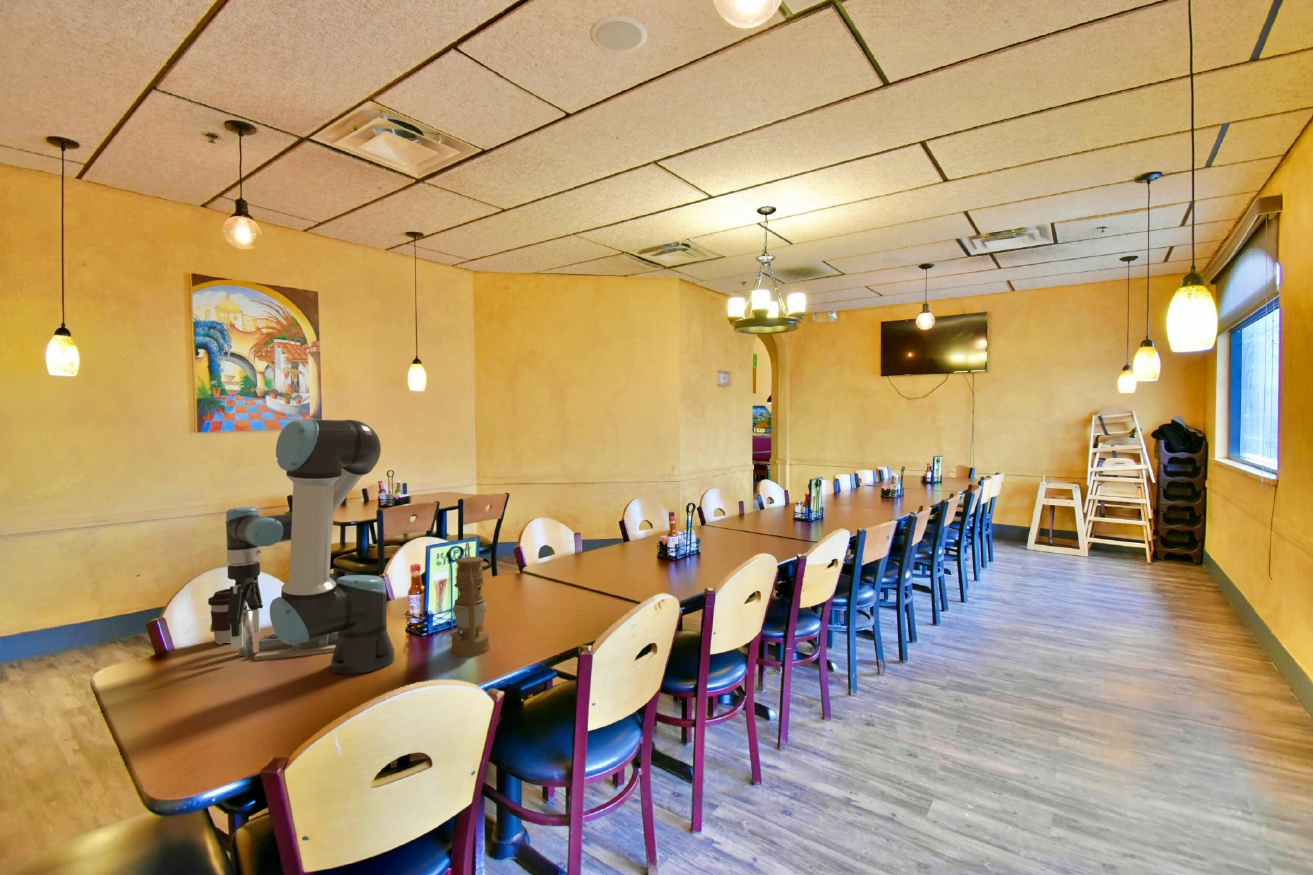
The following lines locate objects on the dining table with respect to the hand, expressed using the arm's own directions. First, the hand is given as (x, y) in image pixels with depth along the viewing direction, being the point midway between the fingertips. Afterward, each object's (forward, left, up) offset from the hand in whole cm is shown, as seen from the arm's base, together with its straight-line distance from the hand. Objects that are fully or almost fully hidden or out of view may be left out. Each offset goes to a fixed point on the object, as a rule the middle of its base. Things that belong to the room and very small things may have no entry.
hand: (245, 639), depth 169 cm
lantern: (-18, -60, -4) cm, 63 cm away
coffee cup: (+15, +9, -4) cm, 18 cm away
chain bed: (-1, -17, -4) cm, 17 cm away
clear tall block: (0, 0, -4) cm, 4 cm away
